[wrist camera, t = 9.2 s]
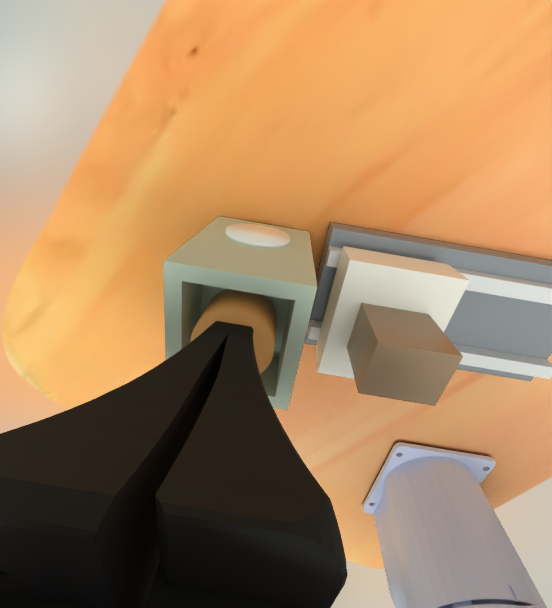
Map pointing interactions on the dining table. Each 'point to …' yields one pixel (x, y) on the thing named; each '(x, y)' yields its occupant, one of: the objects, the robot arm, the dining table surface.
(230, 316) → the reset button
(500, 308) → the rail track
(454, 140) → the dining table surface
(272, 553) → the robot arm
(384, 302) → the carriage
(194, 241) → the cabinet
